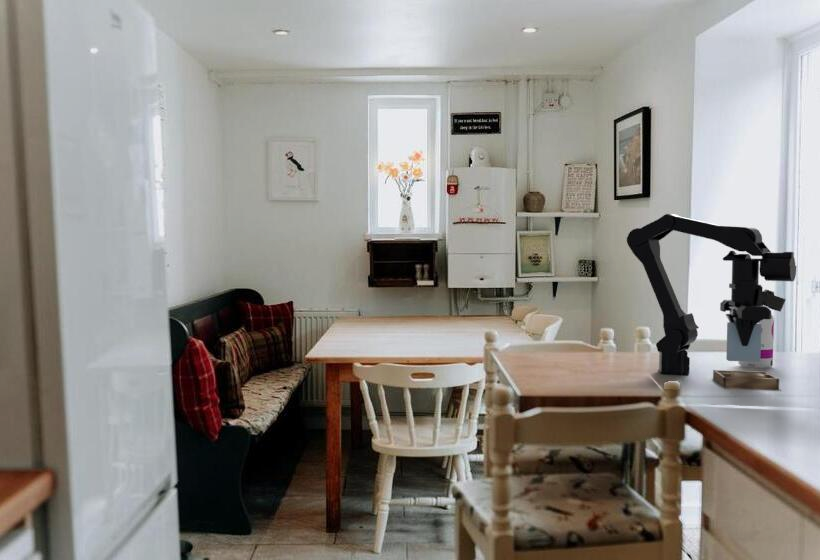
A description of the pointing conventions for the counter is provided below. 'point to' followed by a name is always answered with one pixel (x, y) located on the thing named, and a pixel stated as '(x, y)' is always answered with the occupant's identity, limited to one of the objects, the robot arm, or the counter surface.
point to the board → (737, 349)
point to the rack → (746, 380)
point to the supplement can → (764, 346)
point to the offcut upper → (747, 375)
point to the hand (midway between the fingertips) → (743, 345)
